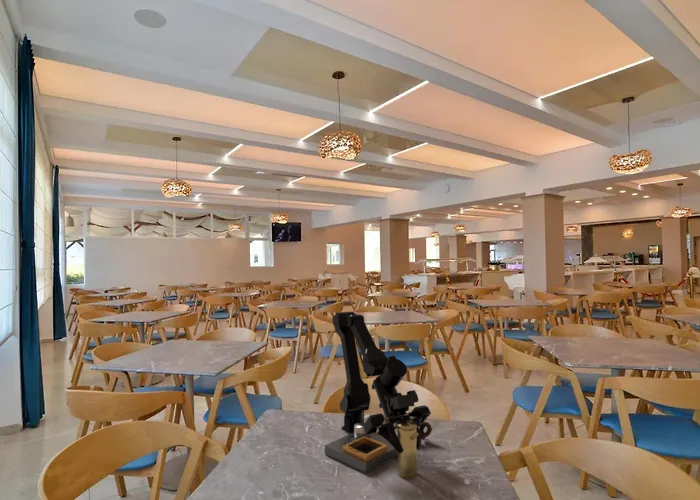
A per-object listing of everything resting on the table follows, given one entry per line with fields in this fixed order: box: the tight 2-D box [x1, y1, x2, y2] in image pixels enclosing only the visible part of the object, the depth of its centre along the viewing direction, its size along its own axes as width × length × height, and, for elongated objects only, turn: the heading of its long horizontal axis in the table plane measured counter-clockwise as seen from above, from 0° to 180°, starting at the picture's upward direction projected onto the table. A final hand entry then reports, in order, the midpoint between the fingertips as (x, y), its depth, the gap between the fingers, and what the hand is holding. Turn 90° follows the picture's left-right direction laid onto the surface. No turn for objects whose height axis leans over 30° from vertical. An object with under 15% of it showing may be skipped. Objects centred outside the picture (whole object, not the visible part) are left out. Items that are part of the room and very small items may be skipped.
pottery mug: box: [394, 421, 433, 446], centre depth 128 cm, size 12×10×8 cm
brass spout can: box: [396, 420, 418, 480], centre depth 107 cm, size 8×5×13 cm
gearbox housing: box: [324, 421, 398, 474], centre depth 119 cm, size 16×16×6 cm
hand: (410, 450), depth 106 cm, fingers closed on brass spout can, 5 cm apart
